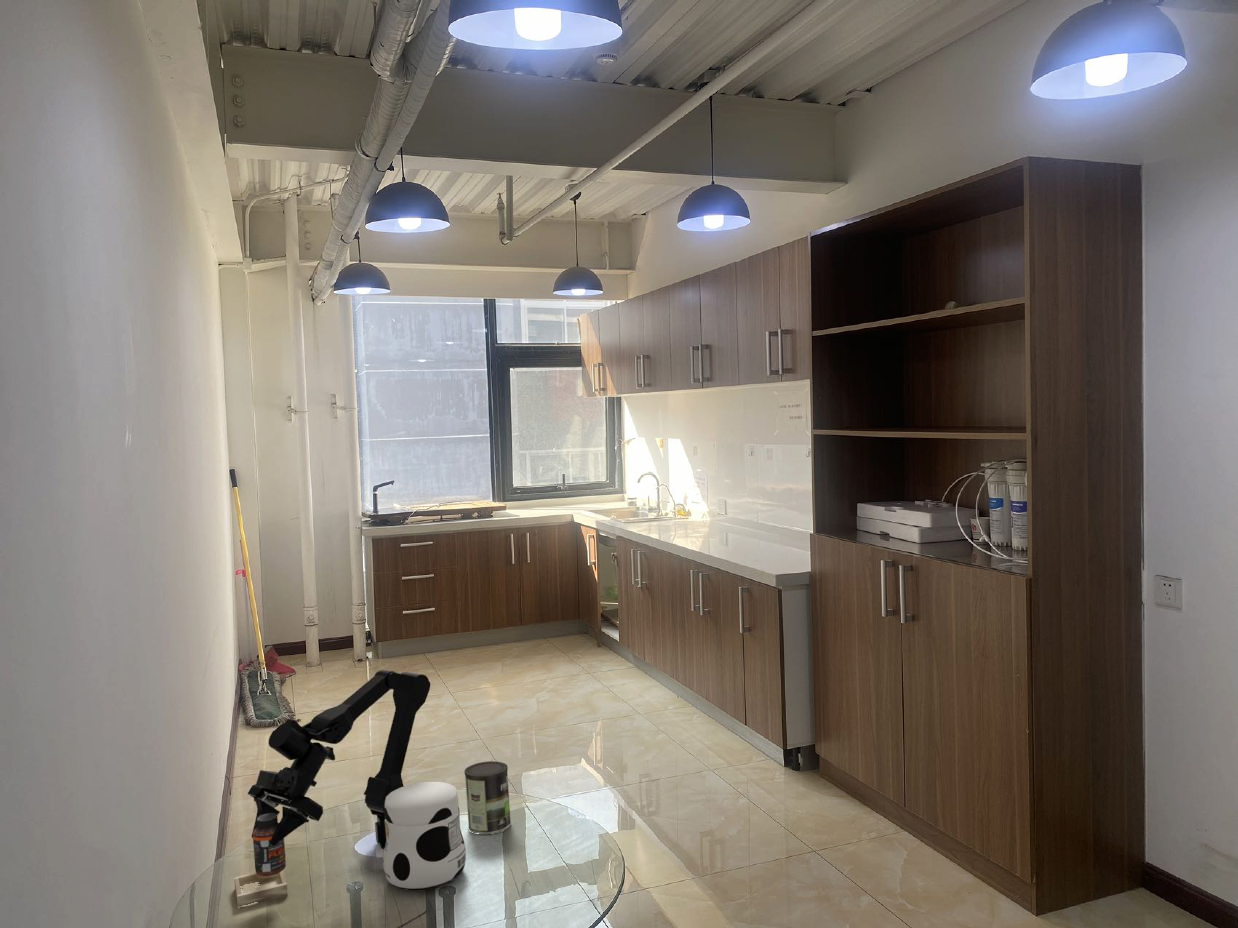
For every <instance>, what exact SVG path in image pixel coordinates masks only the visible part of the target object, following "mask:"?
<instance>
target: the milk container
mask: <svg viewBox="0 0 1238 928" xmlns="http://www.w3.org/2000/svg"><path fill="white" fill-rule="evenodd" d="M384 814H385V828H386V845H385V848H384V851H383V855H382V856H383V857H382V864H383V871H384V875H385V878H386V880H387V881H388V882H389V883H390V885H391V886H394V887H395V888H398V889H400V890H404V891H412V892H414V891H415V892H416V891H418V892H419V891H428V890H432V889H436V888H439V887H442V886H444V885H447V884H449V883H451V882H452V881H454V880H455V879H457V877H458V878H459V876H460V875H461V874H462V872H463V870H464V869H465V866H466V859H467V847H466V842H465V839H464V836H463V834H462V830H461V822H460V821H461V817H460V816H461V815H460V807H459V795H458V790H457V788H456V786H454V785H453V784H450V783H447V782H443V781H440V782H439V781H425V782H424V781H422V782H416V783H410V784H408V785H407V784H406V785H405V786H404V787H401V788H398V789H396V790H394V791H392V792H391V793H390V794H389V795H388V796H386V800H385V808H384Z"/></svg>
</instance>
